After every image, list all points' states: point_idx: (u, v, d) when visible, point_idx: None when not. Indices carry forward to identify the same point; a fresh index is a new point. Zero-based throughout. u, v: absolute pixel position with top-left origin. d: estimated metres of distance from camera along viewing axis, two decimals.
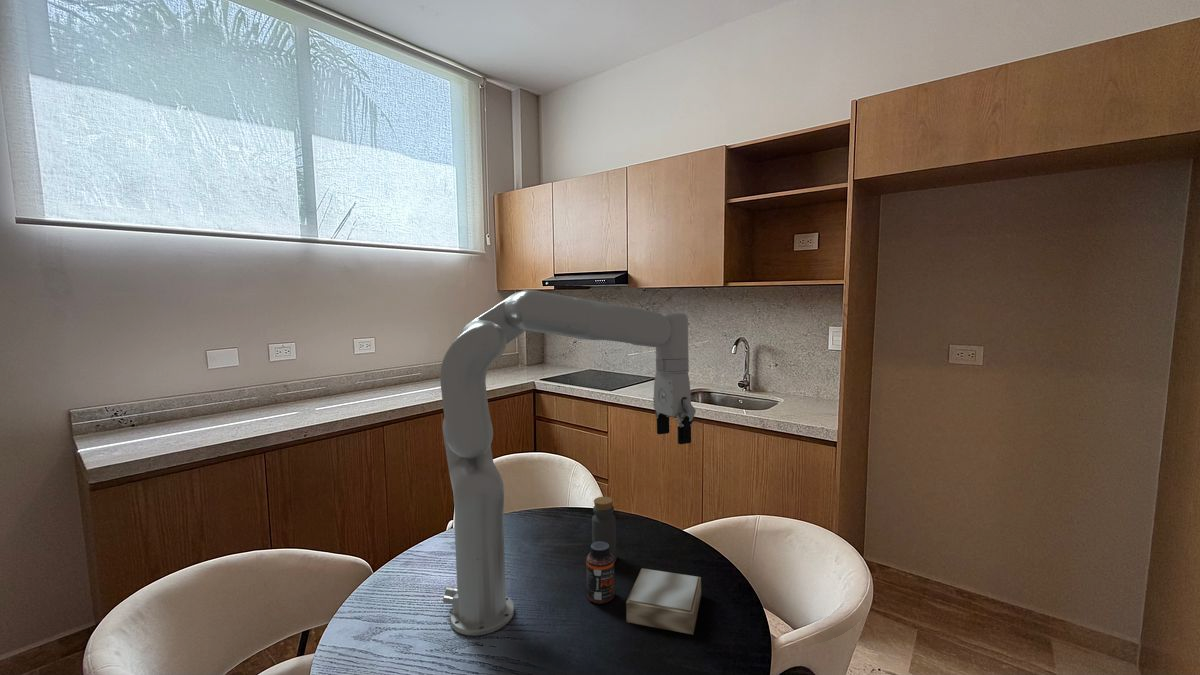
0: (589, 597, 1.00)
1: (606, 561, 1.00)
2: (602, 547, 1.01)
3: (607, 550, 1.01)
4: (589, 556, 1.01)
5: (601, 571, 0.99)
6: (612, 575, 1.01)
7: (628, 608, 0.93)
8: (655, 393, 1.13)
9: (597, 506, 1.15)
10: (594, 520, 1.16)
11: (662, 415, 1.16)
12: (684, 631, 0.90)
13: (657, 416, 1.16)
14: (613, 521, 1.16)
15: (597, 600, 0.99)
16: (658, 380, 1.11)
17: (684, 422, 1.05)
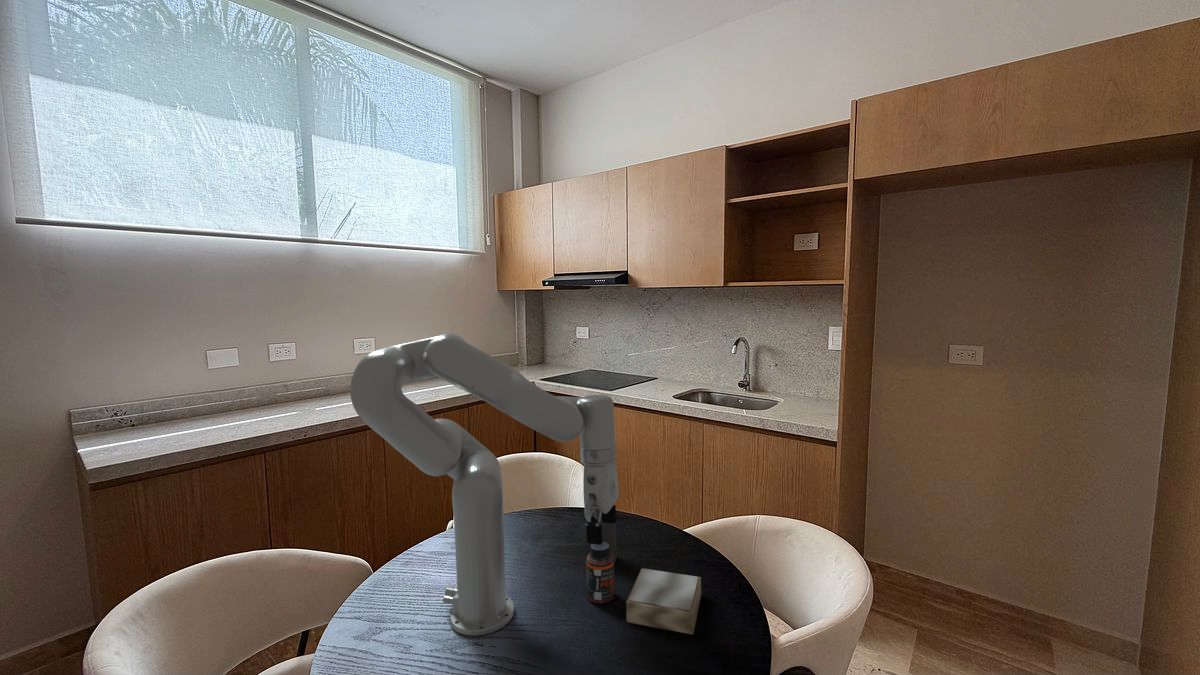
0: (589, 597, 1.00)
1: (606, 561, 1.00)
2: (602, 547, 1.01)
3: (607, 550, 1.01)
4: (589, 556, 1.01)
5: (601, 571, 0.99)
6: (612, 575, 1.01)
7: (628, 608, 0.93)
8: (607, 492, 0.97)
9: None
10: None
11: None
12: (684, 631, 0.90)
13: (599, 523, 0.96)
14: None
15: (597, 600, 0.99)
16: (608, 473, 0.98)
17: None
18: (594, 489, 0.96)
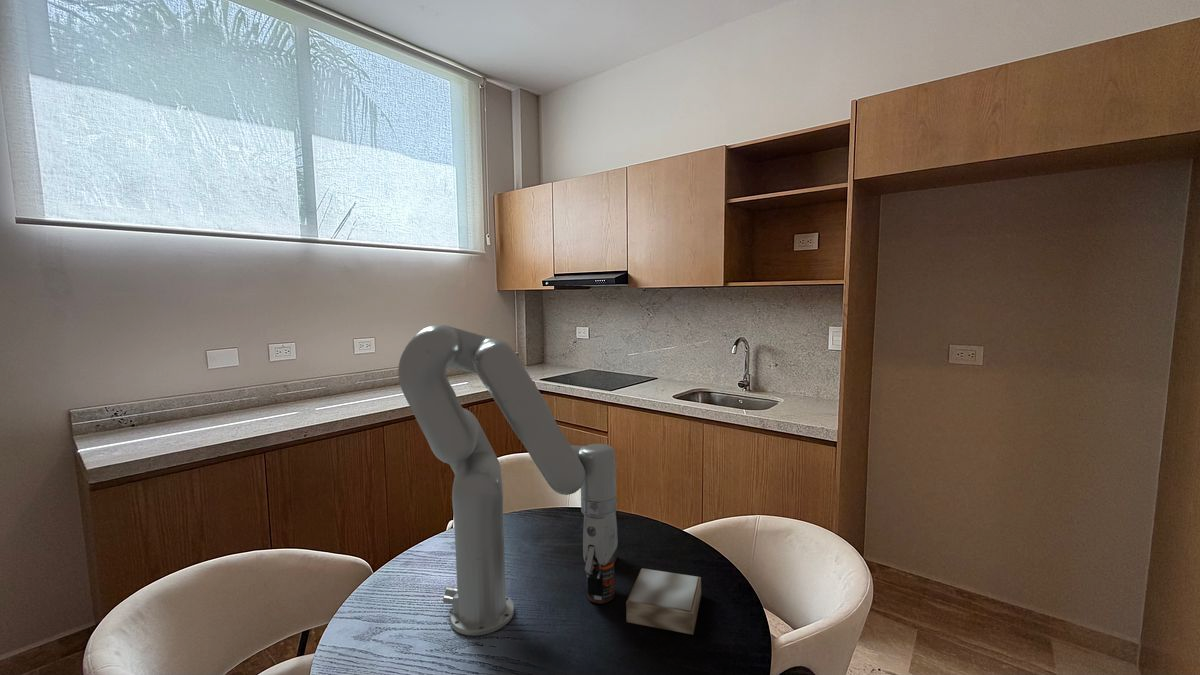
0: (589, 597, 1.00)
1: None
2: None
3: None
4: None
5: (601, 571, 0.99)
6: (612, 575, 1.00)
7: (628, 608, 0.93)
8: (606, 543, 0.97)
9: None
10: None
11: None
12: (684, 631, 0.90)
13: None
14: None
15: (597, 600, 0.99)
16: (608, 524, 0.99)
17: None
18: (594, 541, 0.97)
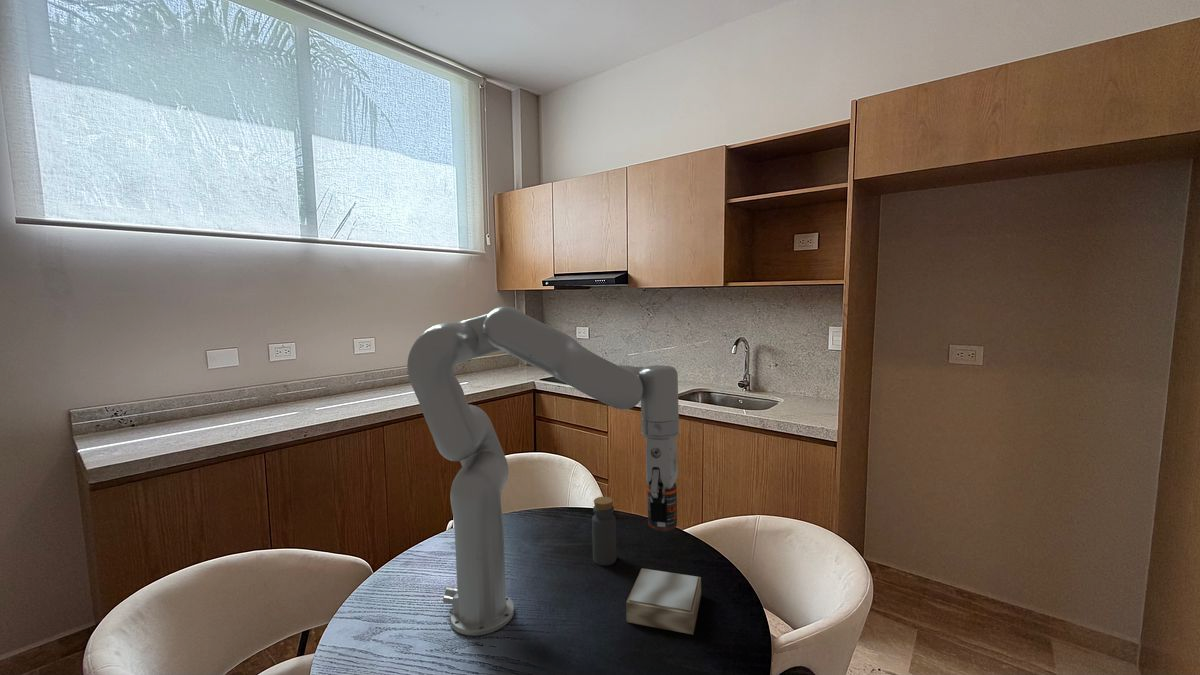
0: (651, 525, 0.95)
1: None
2: None
3: None
4: None
5: (665, 496, 0.94)
6: (675, 502, 0.95)
7: (628, 608, 0.93)
8: (671, 466, 0.92)
9: (597, 506, 1.15)
10: (594, 520, 1.16)
11: None
12: (684, 631, 0.90)
13: None
14: (613, 521, 1.16)
15: (661, 527, 0.94)
16: (672, 447, 0.94)
17: None
18: (658, 462, 0.91)
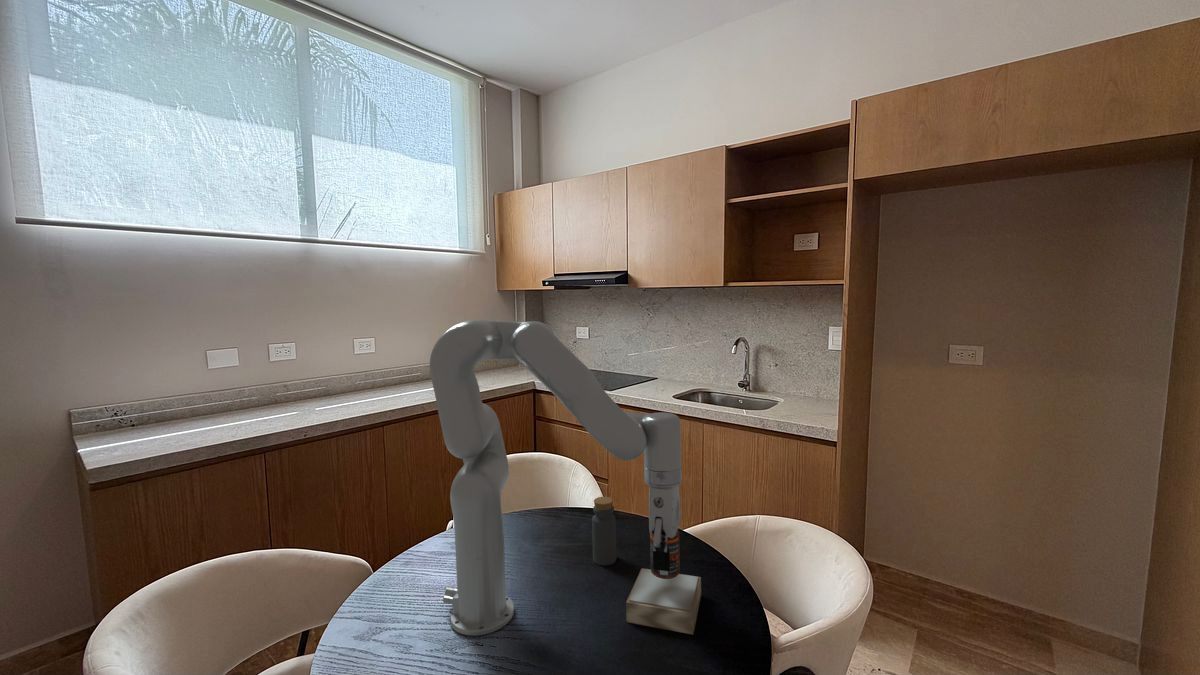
0: (654, 572, 0.96)
1: None
2: None
3: None
4: None
5: (668, 545, 0.94)
6: (678, 549, 0.96)
7: (628, 608, 0.93)
8: (674, 515, 0.93)
9: (597, 506, 1.15)
10: (594, 520, 1.16)
11: None
12: (684, 631, 0.90)
13: (667, 548, 0.93)
14: (613, 521, 1.16)
15: (663, 575, 0.94)
16: (675, 495, 0.94)
17: None
18: (661, 512, 0.92)
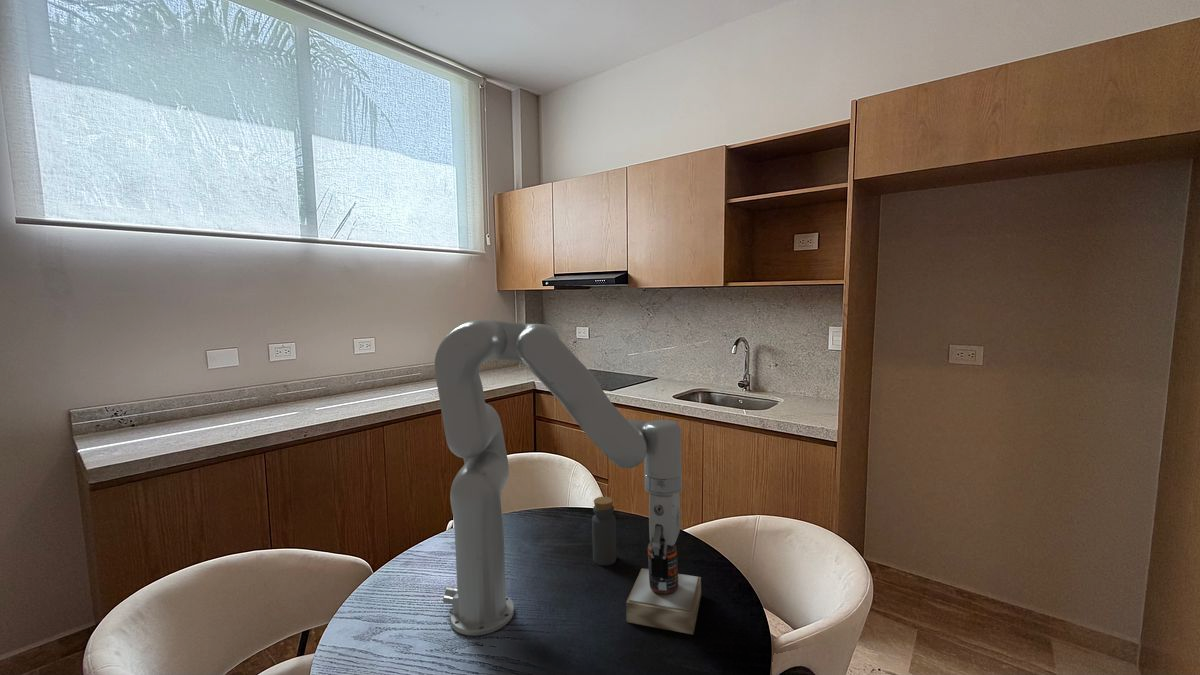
0: (653, 588, 0.96)
1: (670, 549, 0.95)
2: None
3: None
4: (651, 545, 0.96)
5: None
6: (676, 564, 0.96)
7: (628, 608, 0.93)
8: (674, 523, 0.93)
9: (597, 506, 1.15)
10: (594, 520, 1.16)
11: None
12: (684, 631, 0.90)
13: None
14: (613, 521, 1.16)
15: (662, 591, 0.95)
16: (675, 503, 0.94)
17: None
18: (661, 520, 0.92)
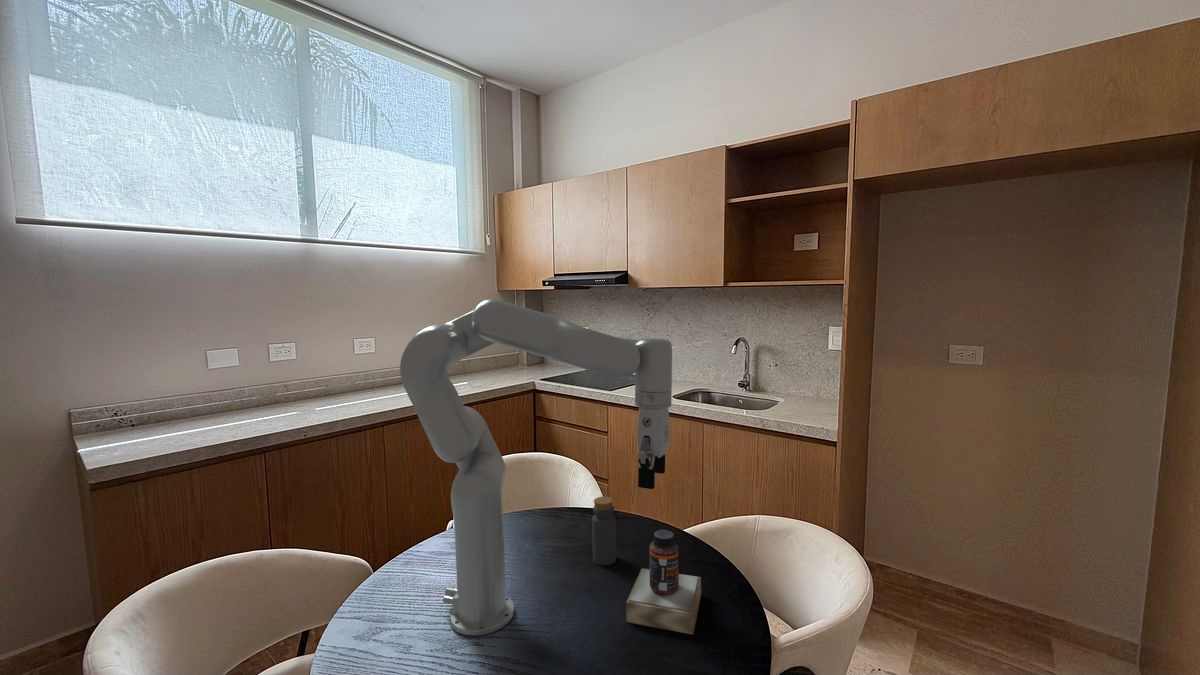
0: (653, 588, 0.96)
1: (672, 550, 0.95)
2: (667, 536, 0.96)
3: (672, 539, 0.96)
4: (653, 545, 0.97)
5: (667, 561, 0.94)
6: (677, 565, 0.96)
7: (628, 608, 0.93)
8: (661, 436, 0.94)
9: (597, 506, 1.15)
10: (594, 520, 1.16)
11: None
12: (684, 631, 0.90)
13: (653, 467, 0.94)
14: (613, 521, 1.16)
15: (662, 591, 0.95)
16: (664, 417, 0.96)
17: None
18: (649, 431, 0.94)
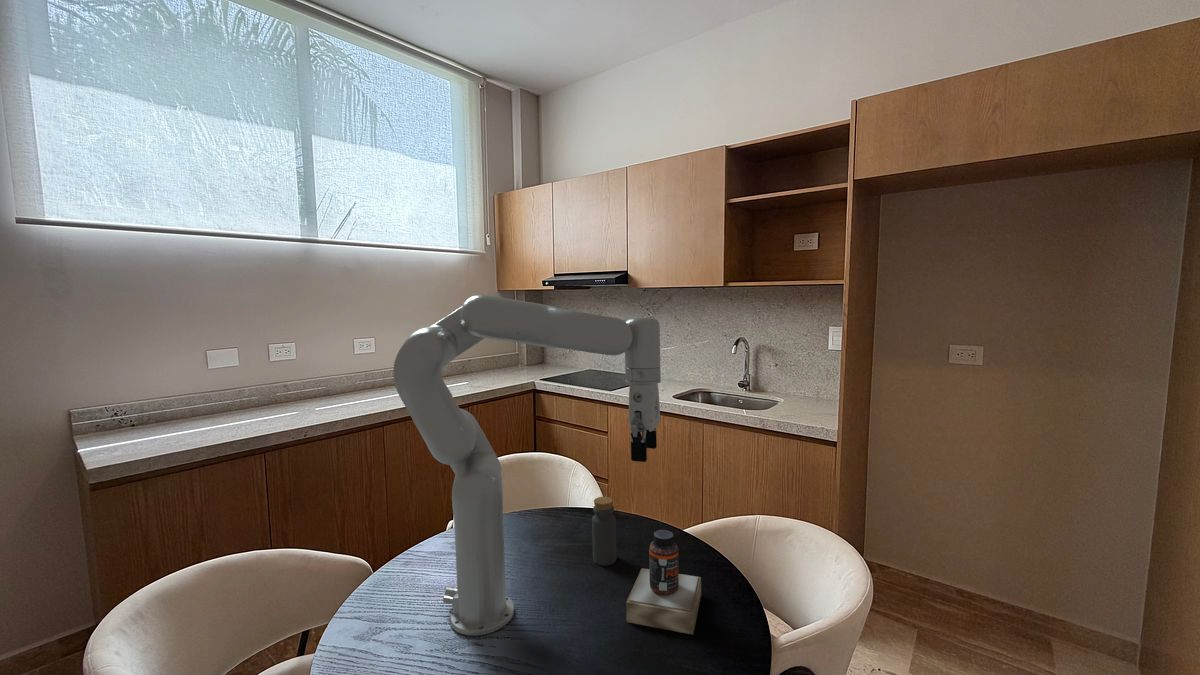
0: (653, 588, 0.96)
1: (671, 550, 0.95)
2: (667, 536, 0.96)
3: (672, 539, 0.96)
4: (652, 545, 0.97)
5: (667, 561, 0.94)
6: (677, 565, 0.96)
7: (628, 608, 0.93)
8: (652, 410, 0.98)
9: (597, 506, 1.15)
10: (594, 520, 1.16)
11: None
12: (684, 631, 0.90)
13: (644, 441, 0.97)
14: (613, 521, 1.16)
15: (662, 591, 0.95)
16: (654, 393, 0.99)
17: None
18: (640, 406, 0.97)
